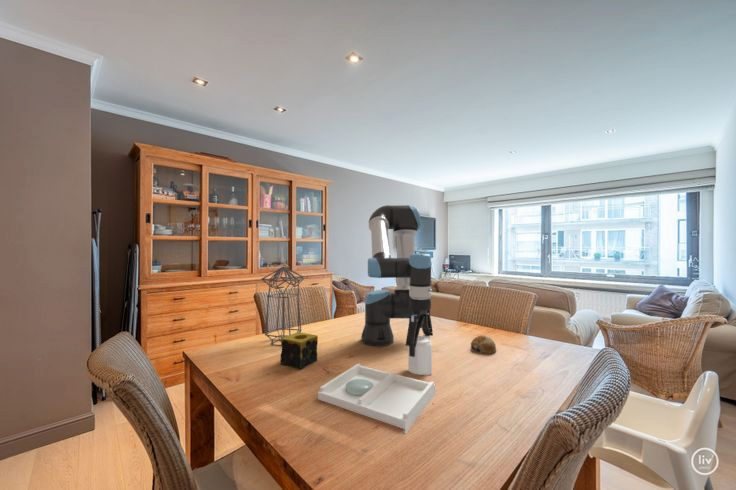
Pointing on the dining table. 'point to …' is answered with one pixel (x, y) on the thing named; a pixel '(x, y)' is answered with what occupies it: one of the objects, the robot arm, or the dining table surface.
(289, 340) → the candle
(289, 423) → the dining table surface
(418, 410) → the divided white tray
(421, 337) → the beverage can
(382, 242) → the robot arm
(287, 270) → the geometric lantern
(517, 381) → the dining table surface
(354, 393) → the pale green smooth oval
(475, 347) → the bread roll
